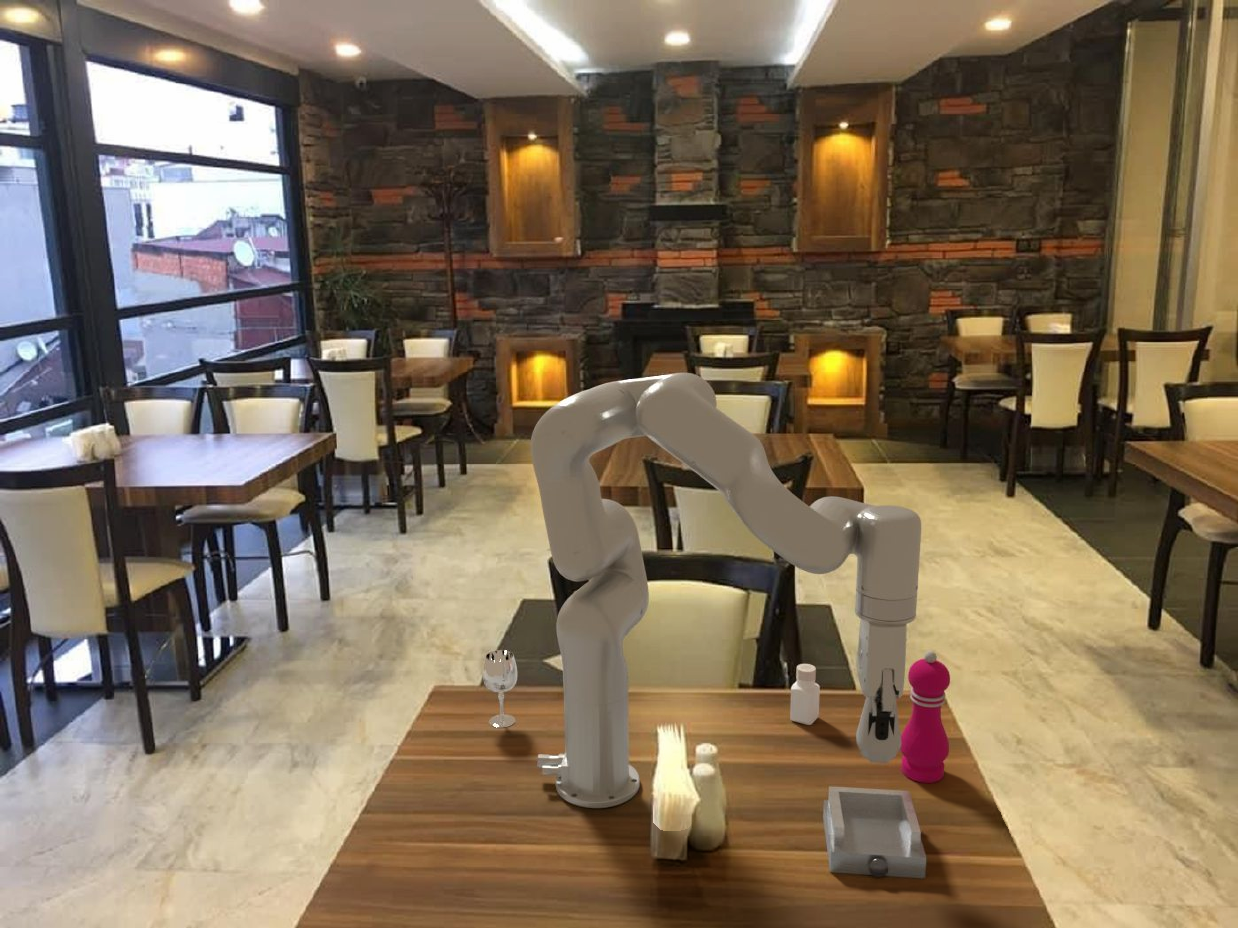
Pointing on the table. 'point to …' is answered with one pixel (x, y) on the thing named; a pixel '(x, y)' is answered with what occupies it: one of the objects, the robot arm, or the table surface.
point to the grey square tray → (873, 833)
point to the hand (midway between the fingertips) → (878, 733)
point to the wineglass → (500, 681)
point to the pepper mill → (926, 722)
